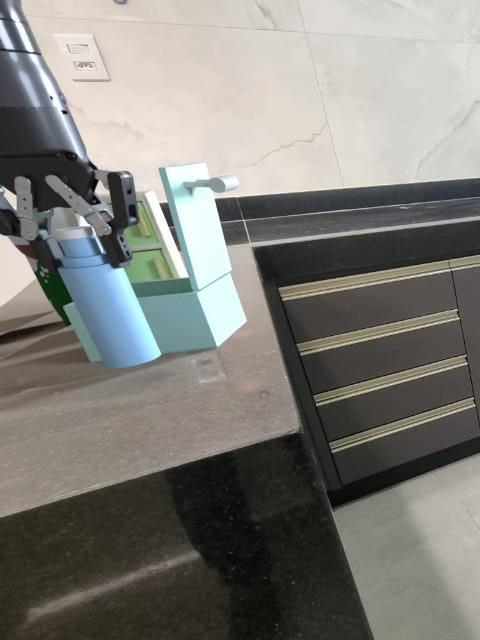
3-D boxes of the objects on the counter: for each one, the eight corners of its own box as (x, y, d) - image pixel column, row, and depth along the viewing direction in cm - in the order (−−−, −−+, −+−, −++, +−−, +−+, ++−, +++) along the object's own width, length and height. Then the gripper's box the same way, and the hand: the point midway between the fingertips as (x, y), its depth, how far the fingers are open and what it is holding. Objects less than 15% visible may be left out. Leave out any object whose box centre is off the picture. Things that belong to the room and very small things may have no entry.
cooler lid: (157, 167, 66) (210, 169, 68) (199, 162, 77) (244, 164, 79) (192, 290, 72) (239, 289, 74) (226, 270, 83) (267, 269, 85)
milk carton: (131, 317, 93) (78, 200, 85) (59, 330, 88) (-5, 207, 80) (130, 307, 99) (80, 196, 91) (62, 319, 94) (4, 203, 86)
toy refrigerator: (136, 331, 86) (77, 198, 78) (145, 319, 92) (91, 194, 84) (197, 321, 90) (146, 193, 82) (202, 310, 96) (155, 190, 87)
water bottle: (95, 371, 62) (26, 234, 55) (120, 355, 67) (59, 226, 60) (148, 364, 63) (86, 230, 57) (169, 349, 68) (114, 222, 61)
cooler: (93, 368, 73) (62, 306, 69) (139, 338, 83) (115, 283, 79) (219, 352, 76) (196, 293, 73) (249, 326, 87) (230, 272, 83)
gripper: (-114, 105, 48) (-14, 284, 55) (79, 101, 52) (149, 270, 59) (-45, 108, 55) (36, 268, 62) (122, 105, 59) (181, 256, 65)
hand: (91, 268), depth 60 cm, fingers closed on water bottle, 5 cm apart
